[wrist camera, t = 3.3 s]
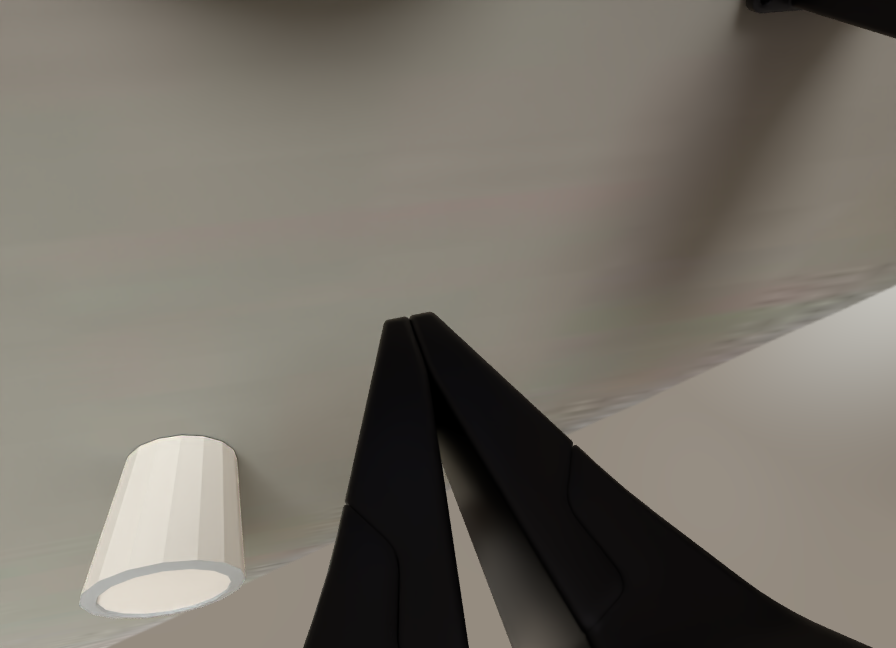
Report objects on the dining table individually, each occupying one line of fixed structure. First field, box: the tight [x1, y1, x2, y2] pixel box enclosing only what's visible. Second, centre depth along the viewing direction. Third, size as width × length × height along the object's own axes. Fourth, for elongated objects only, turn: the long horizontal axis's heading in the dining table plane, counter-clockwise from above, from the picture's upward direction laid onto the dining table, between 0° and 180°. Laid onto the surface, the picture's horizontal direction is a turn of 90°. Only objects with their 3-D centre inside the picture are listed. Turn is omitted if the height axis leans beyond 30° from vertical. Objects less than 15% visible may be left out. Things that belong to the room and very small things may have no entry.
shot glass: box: [79, 435, 246, 619], centre depth 25 cm, size 7×7×7 cm
